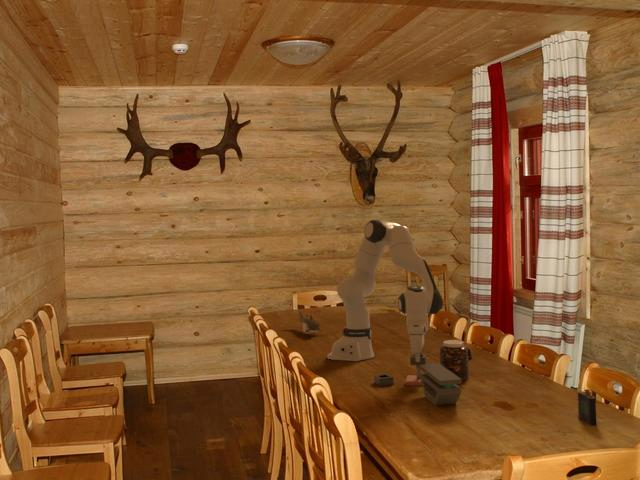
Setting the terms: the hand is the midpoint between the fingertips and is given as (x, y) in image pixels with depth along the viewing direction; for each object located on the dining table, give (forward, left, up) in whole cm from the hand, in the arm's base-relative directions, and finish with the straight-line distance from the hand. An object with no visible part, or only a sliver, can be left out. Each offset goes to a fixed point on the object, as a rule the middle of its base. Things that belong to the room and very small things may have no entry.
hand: (418, 359), depth 290 cm
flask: (+59, -45, -10) cm, 75 cm away
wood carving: (-72, +102, -10) cm, 125 cm away
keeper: (0, 0, -9) cm, 9 cm away
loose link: (-14, -3, -9) cm, 17 cm away
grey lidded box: (+10, -25, -10) cm, 29 cm away
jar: (+14, +8, -10) cm, 19 cm away
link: (0, 0, -2) cm, 2 cm away
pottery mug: (+16, +43, -10) cm, 47 cm away
